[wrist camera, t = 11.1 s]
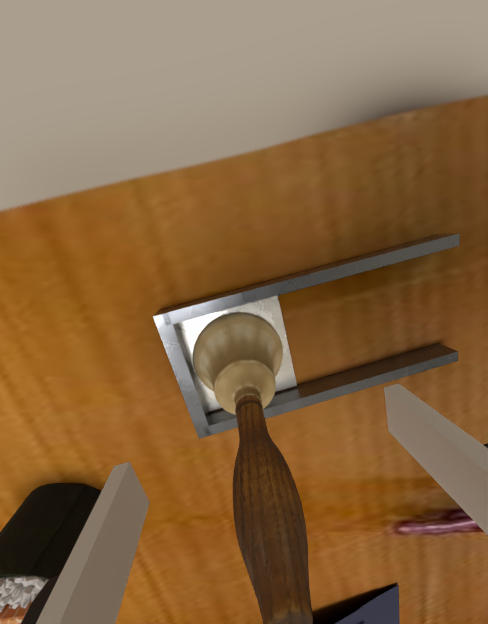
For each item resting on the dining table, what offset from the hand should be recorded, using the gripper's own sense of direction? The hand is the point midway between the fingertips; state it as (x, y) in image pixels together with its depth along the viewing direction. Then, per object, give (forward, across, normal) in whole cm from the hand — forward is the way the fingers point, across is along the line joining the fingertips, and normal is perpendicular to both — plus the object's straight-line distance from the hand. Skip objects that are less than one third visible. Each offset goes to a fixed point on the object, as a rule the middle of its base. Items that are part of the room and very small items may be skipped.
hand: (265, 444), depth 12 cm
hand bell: (+10, 0, 0) cm, 10 cm away
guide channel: (+10, -7, 0) cm, 13 cm away
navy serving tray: (+11, +2, +53) cm, 55 cm away
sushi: (+10, +22, +12) cm, 27 cm away
